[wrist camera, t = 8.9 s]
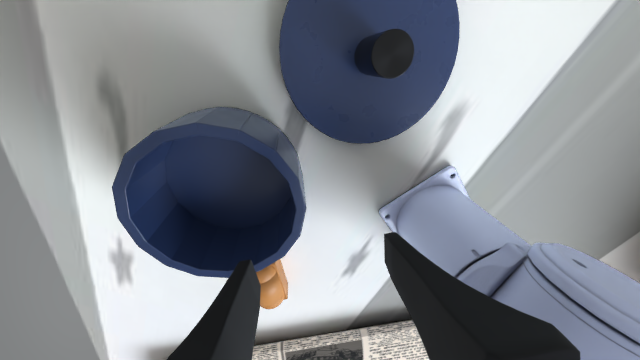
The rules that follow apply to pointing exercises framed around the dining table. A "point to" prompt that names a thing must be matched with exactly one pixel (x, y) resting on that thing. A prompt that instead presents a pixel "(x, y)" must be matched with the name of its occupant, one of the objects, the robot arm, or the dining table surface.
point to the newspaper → (351, 345)
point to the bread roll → (272, 285)
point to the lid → (367, 63)
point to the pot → (212, 192)
